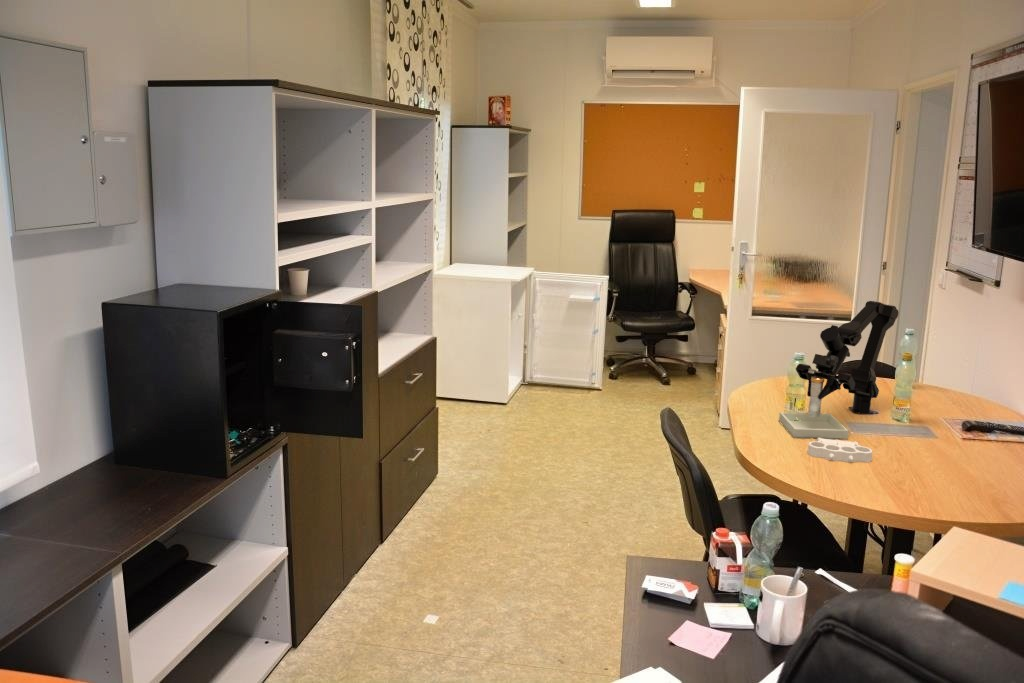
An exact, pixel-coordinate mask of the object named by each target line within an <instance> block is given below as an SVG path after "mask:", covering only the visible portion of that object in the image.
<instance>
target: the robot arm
mask: <svg viewBox="0 0 1024 683" xmlns="http://www.w3.org/2000/svg"><path fill="white" fill-rule="evenodd" d="M898 317H899V310H898V309H897V307H896V306H895V305H892V304H885V303H882V302H880V301H875V300H867V301H866V303H865V304H864V306H863V308H862V309H861V310H860V311H859V312H858V313H857V314H856V315H855V316H854V317H853V318H852V319H851V320H850V321H849V322H846V323H843V324H841V325H839V326H838V325H834V324H832V325H831V326H830V327H827V328H825V329H822V331H821V332H820V334H819V336H820V339H821V342H822V343H823V346H824V347H825V349H826V350H827V353H826V355H823V354H819V353H818V354H817V353H815V354H814V357H813V360H812V364H814V365H815V369H814V368H812V367H811V365H810V364H804V363H798V364H797V366H796V367H795V372H796V373H797V374H798V377H799V378H801V379H803V380H806V381H808V386H807V393H806V394H807V397H809V398H810V392H811V382H812V381H811V377H812V376H820V377H824V380H826V383H825V385H823V390H822V391H821V393H820V395H819V399H820V400H821V399H824V398H826V397H827V396H828V395H830V394H831V393H833V392H835V391H837V390H839V391H840V390H841V389H842V388H843V389H844V390H847V391H848V393H849V394H853V400H852V406H848V409H849V410H850V411H851V412H852V413H854V414H863V415H864V414H865V415H867V414H869V415H873V414H874V411H873V410H871V405H872V399H877V398H878V396H879V393H880V390H879V387H878V385H877V383H876V381H877V376H876V372H875V369H876V368H875V367H876V364H877V361H878V358H879V354H880V353H881V348H882V347H883V346H882V345H883V342H884V339H885V336H886V334H887V331H888V330H889V329H890V328H892V327H893V326H894V324H895V322H896V320H897V319H898ZM869 324H871V329H870V332H869V334H868V338H867V341H866V344H865V348H864V351H863V354H862V358H861V360H860V363H859V365H858V366H857V367H853V368H852V369H851V371H850V373H845V372H839V371H842V370H843V367H842V366H843V364H844V362H845V360H846V358H847V357H851V352H850V348H848V346H850V347H856V346H857V345H858V344H859V343H860V341H861V339H862V333H863V331H864V330H865V329H866V328H867V327H868V326H869ZM841 386H842V388H841ZM821 401H822V400H821ZM872 413H873V414H872Z"/></svg>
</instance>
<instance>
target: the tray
mask: <svg viewBox="0 0 1024 683" xmlns="http://www.w3.org/2000/svg"><path fill="white" fill-rule="evenodd" d="M796 417H797V418H799V420H801V421H793V420H796ZM778 422H781V423H782V424H783V425H782V424H781V423H780V424H781V425H782V426H783V428H785V430H786V429H787V430H788V431H787V430H786V431H787V432H788V433H789V434H790V436H791V437H792V438H793V439H810V438H813V440H814V439H815V440H817V438H822V439H831V440H843V439H849V432H850V431H849V429H848V428H846V427H845V426H844V425H843V424H842V423H841V422H840V421H839V420H838V419H837V418H835V416H833V415H832V414H831V413H820V417H817V418H815V417H810V416H808V412H782V411H781V412H779V418H778Z"/></svg>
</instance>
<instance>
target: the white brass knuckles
mask: <svg viewBox="0 0 1024 683" xmlns="http://www.w3.org/2000/svg"><path fill="white" fill-rule="evenodd" d="M807 455H809V456H811V457H813V458H821V459H826V460H829V461H833V462H843V463H858V462H859V463H870V462H872V459H873V449H872V448H870V447H868V446H863V445H860V444H859V442H858V441H850V440H849V441H848V440H841V439H822V438H817V439H816V441H815V440H813V441H812V440H811V441H810V442H808V444H807Z"/></svg>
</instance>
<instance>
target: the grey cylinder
mask: <svg viewBox="0 0 1024 683" xmlns="http://www.w3.org/2000/svg"><path fill="white" fill-rule="evenodd" d="M811 381H812V382H811V392H810V396H809V402H808V411H807V413H808V416H810V417H815V418H817V417H820V414H821V408H822V399H823V398H822V399H821V400H820V399H819V395H820V393H821V391H822V390H823V388H824V383H825V379H824V377H820V376H812V377H811Z"/></svg>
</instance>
